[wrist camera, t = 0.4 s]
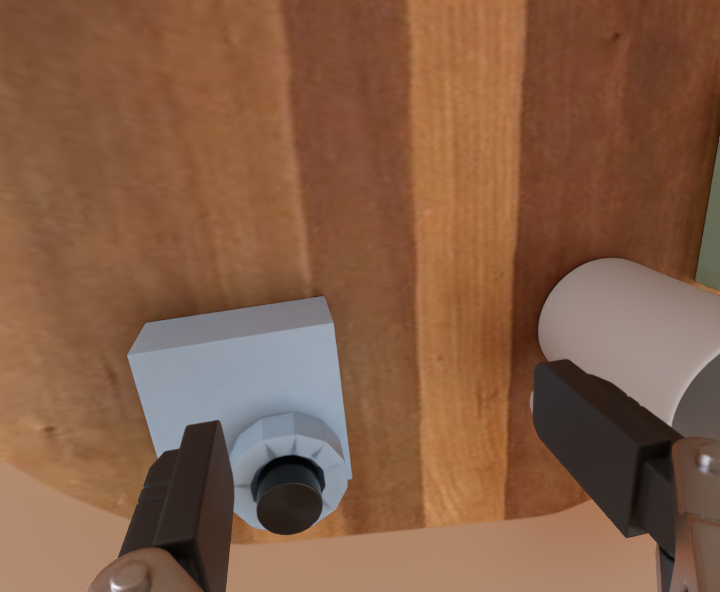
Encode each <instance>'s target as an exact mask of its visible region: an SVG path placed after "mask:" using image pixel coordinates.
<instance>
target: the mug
mask: <svg viewBox="0 0 720 592" xmlns="http://www.w3.org/2000/svg"><path fill="white" fill-rule="evenodd" d="M538 337H539V343H540V347H541V349H542V352H543V354H544V355H545V357H546V359H547V360H548V361H549V362H550V361H555V360H561V359H569V360H570V361H572V362H573V363H574V364H576V365H577V366H578V367H579V368H581V369H582V370H583V371H585V372H586V373H587V374H593V375H595V376H597V377H600V378H602V379H605V380H607V381H609V382H612V383H613V384H614V385H616V386H617V387H618V388H620V389H621V390H622V391H624V392H625V393H626V394H627V396H630V397H632V398H633V399H634V400H636V401H637V402H638V403H640V406H644V407H645V408H646V409H648V410H649V411H650V412H652V413H653V414H654V415H656V416H657V417H658V418H660V419H661V420H662V421H664V422H665V423H666V424H668V425H669V426H670V427H672V428H673V429H675V430H676V431H677V432H679V433H680V434H681V435H683V436H684V437H685V438H687V437H705V438H711V439H716V440H719V441H720V296H717V295H715V294H712V293H710V292H707V291H705V290H702V289H700V288H697V287H694V286H692V285H689V284H687V283H684V282H682V281H679V280H677V279H674V278H672V277H669V276H667V275H664V274H662V273H659V272H657V271H654V270H652V269H650V268H648V267H645V266H643V265H641V264H638V263H636V262H633V261H629V260H626V259H621V258H603V259H597V260H594V261H590V262H588V263H586V264H583V265H581V266H580V267H578V268H576V269H574V270H573V271H572V272H570V273H569V274H567V275H566V276H565V277H564V278H563V279H562V280H561V281H560V282H559V283H558V284H557V285H556V286H555V287H554V289H553V290H552V292H551V293H550V295H549V296H548V298H547V300H546V302H545V304H544V306H543V309H542V312H541V315H540V319H539V325H538ZM530 409H531V412H532V414H533V392H532V393H531V397H530Z"/></svg>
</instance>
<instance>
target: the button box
mask: <svg viewBox="0 0 720 592" xmlns="http://www.w3.org/2000/svg"><path fill="white" fill-rule="evenodd" d="M127 357H128V360H129V364H130V367H131V370H132V374H133V377H134V381H135V384H136V387H137V391H138V394H139V397H140V401H141V404H142V407H143V411H144V414H145V418H146V421H147V424H148V428H149V431H150V434H151V438H152V441H153V444H154V448H155V451H156V455H157V458H159V457H160V456H161V455H162V454H163V452H164V451H168V450H174V449H179V448H180V445H181V441H182V437H183V434H184V430H185V427H186V426H187V425H191V424H197V423H203V422H208V421H214V420H219V421H220V422H221V425H222V428H223V433H224V437H225V442H226V446H227V451H228V455H229V460H230V464H231V468H232V473H233V479H234V492H235V499H234V510H233V512H235V513H236V514H237V515H238V516H239V517H241V518H242V519H243V520H244V521H245V522H247V523H248V524H249V525H250V526H251V527H253V528H257V529H262V530H267V529H265V528H264V527H263V526H262V525H261V524H260V522H259V520H258V518H257V513H256V505H257V479H258V476H259V473H260V472H261V470H262V469H263V468H264V466H265V465H267V464H268V463H269V462H271V461H272V460H274V459H276V458H279V457H283V456H299V457H303V458H305V459H307V460H309V461H310V462H311V463H312V464H313V465H314V466H315V467H316V469H317V471H318V475H319V481H320V487H321V494H322V500H323V509H322V513H321V515H320V517H319V519H318V520H317V521H316V522H315V523H314V524H313V525H315V524H316V523H317V522H319V521H320V520H322V519H323V518H325V517H326V516H327V515H329V514H330V513H332V512H333V511H334V510H335V509H336V508H337V506H338V504H339V502H340V500H341V498H342V496H343V494H344V493H345V491H346V489H347V487H348V481H347V480H349V479H352V471H351V463H350V454H349V446H348V438H347V429H346V421H345V413H344V404H343V396H342V388H341V379H340V371H339V363H338V354H337V346H336V338H335V329H334V322H333V319H332V316H331V314H330V311H329V308H328V305H327V302H326V299H325V296H320V297H314V298H307V299H301V300H294V301H287V302H281V303H274V304H267V305H261V306H254V307H248V308H241V309H234V310H228V311H221V312H214V313H208V314H201V315H195V316H188V317H181V318H175V319H168V320H161V321H155V322H148V323H145V325H144V327H143V328H142V330H141V332H140V334H139V335H138V337H137V339H136V341H135V342H134V344H133V346H132V348H131V349H130V351H129V353H128V355H127ZM313 525H312V526H313ZM267 531H268V530H267Z"/></svg>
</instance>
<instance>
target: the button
mask: <svg viewBox="0 0 720 592" xmlns="http://www.w3.org/2000/svg"><path fill="white" fill-rule="evenodd" d="M322 509H323V500H322V494H321V487H320V481H319V475H318V471H317V469H316V467H315V466H314V465H313V464H312V463H311V462H310V461H309V460H307V459H305V458H303V457H299V456H283V457H279V458H276V459H274V460H272V461H271V462H269V463H268V464H267V465H265V466H264V468H263V469H262V470H261V472H260V473H259V476H258V479H257V505H256V513H257V518H258V520H259V522H260V524H261V525H262V526H263V527H264V528H265V529H267V530H268V531H270V532H272V533H275V534H280V535H291V534H296V533H300V532H302V531H304V530H306V529H308V528H310V527H311V526H312V525H313V524H314V523H315V522H316V521H317V520H318V519H319V517H320V515H321V513H322Z"/></svg>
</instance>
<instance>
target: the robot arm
mask: <svg viewBox="0 0 720 592" xmlns="http://www.w3.org/2000/svg"><path fill="white" fill-rule="evenodd" d="M533 423H534V426H535V429H536V432H537V434H538V436H539V438H540V439H541V440H542V441H543V443H544V444H545V445H546V446H547V447H548V448H549V450H550V451H551V452H552V453H553V454H554V455H555V457H556V458H557V459H558V460H559V461H560V462H561V463H562V465H563V466H564V467H565V468H566V469H567V470H568V472H569V473H570V474H571V475H572V476H573V477H574V478H575V480H576V481H577V482H578V483H579V484H580V485H581V487H582V488H583V489H584V490H585V491H586V492H587V493H588V495H589V496H590V497H591V498H592V499H593V500H594V502H595V503H596V504H597V505H598V506H599V507H600V509H602V511H603V512H604V513H605V514H606V515H607V517H608V518H609V519H610V520H611V521H612V522H613V523H614V525H615V526H616V527H617V528H618V529H619V530H620V532H621V533H622V534H623V535H624V536H625V537H626V538H629V537H634V536H638V535H642V534H647V533H649V534H650V536H651V537H652V538H653V539H654V540H655V541H656V542H657V546H656V569H657V588H658V592H720V441H719V440H716V439H711V438H705V437H687V438H685V437H684V436H683V435H681V434H680V433H679V432H677V431H676V430H675V429H673V428H672V427H670V426H669V425H668V424H666V423H665V422H664V421H662V420H661V419H660V418H658V417H657V416H656V415H654V414H653V413H652V412H650V411H649V410H648V409H646V408H645V407H644V406H640V403H638V402H637V401H636V400H634V399H633V398H632V397H630V396H627V394H626V393H625V392H624V391H622V390H621V389H620V388H618V387H617V386H616V385H614V384H613V383H612V382H609V381H607V380H605V379H602V378H600V377H597V376H595V375H593V374H587V373H586V372H585V371H583V370H582V369H581V368H579V367H578V366H577V365H576V364H574V363H573V362H572V361H570V360H569V359H561V360H555V361H550V362H544V363H539V364H537V365H536V367H535V370H534V389H533ZM234 499H235V492H234V479H233V473H232V468H231V464H230V460H229V455H228V451H227V446H226V442H225V437H224V433H223V428H222V425H221V422H220V421H219V420H214V421H208V422H203V423H197V424H191V425H187V426H186V427H185V430H184V434H183V437H182V441H181V445H180V448H179V449H174V450H168V451H164V452H163V454H162V455H161V456H160V457H159V458H158V459H157V460H156V461H155V463H154V464H153V465H152V466H151V467H150V469H149V472H148V474H147V477H146V480H145V483H144V489H142V491H141V494H140V497H139V500H138V501H139V504H137V505H136V508H135V511H134V514H133V517H132V520H131V522H130V525H129V528H128V531H127V534H126V537H125V540H124V542H123V545H122V548H121V551H120V553H119V556H118V558H117V559H116V560H114V561H113V562H112V563H110V564H109V565H108V566H106V567H105V568H104V569H103V570H102V571H101V572H100V573H99V574H98V575H97V577H96V578H95V579H94V581H93V582H92V583H91V586H90V587H89V589H88V591H87V592H226V582H227V572H228V562H229V551H230V541H231V531H232V520H233V510H234Z"/></svg>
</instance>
